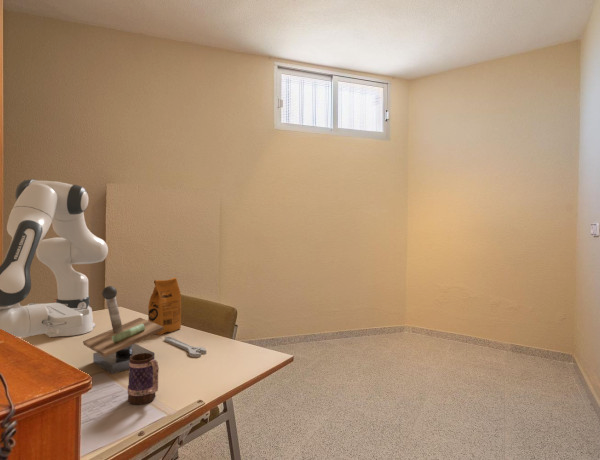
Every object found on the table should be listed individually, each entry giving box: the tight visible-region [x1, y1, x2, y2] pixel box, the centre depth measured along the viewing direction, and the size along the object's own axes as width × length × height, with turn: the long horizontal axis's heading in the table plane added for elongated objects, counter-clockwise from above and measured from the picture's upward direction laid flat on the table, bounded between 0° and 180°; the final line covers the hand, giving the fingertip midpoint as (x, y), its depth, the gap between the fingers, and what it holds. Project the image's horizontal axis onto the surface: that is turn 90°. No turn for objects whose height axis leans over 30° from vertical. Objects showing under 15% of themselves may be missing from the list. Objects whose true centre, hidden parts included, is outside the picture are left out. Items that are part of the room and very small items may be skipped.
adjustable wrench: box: [164, 336, 207, 358], centre depth 148 cm, size 25×6×2 cm, turn 43°
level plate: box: [82, 285, 164, 357], centre depth 130 cm, size 16×20×17 cm
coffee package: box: [147, 277, 182, 335], centre depth 167 cm, size 10×12×22 cm
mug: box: [127, 353, 160, 406], centre depth 105 cm, size 10×7×12 cm
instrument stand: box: [92, 343, 155, 375], centre depth 132 cm, size 14×14×8 cm
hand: (87, 310), depth 126 cm, fingers closed
